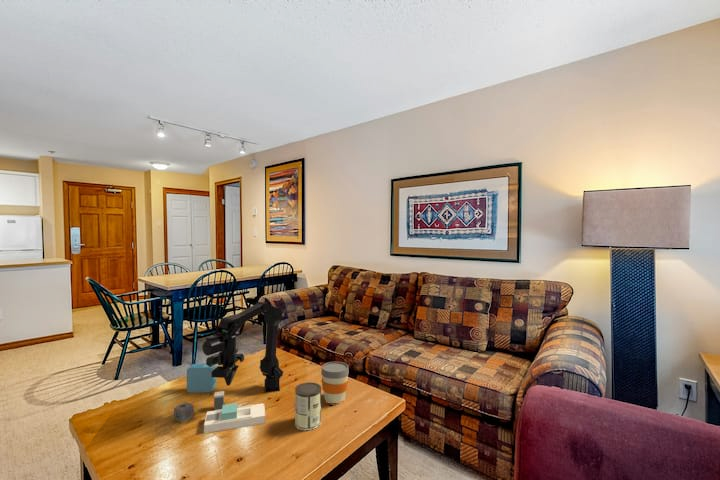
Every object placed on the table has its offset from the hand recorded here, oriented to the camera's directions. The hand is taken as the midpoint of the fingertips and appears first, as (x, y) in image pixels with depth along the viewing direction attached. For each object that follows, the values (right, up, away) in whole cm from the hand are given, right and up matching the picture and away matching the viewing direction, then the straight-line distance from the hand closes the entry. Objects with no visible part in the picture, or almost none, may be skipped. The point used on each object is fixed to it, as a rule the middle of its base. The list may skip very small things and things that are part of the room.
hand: (228, 385), depth 137 cm
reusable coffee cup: (+43, -12, +13) cm, 47 cm away
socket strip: (+5, -12, -6) cm, 14 cm away
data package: (-20, -11, +19) cm, 30 cm away
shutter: (+3, -9, -7) cm, 11 cm away
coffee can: (+34, -12, -6) cm, 37 cm away
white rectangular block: (-5, -11, +3) cm, 13 cm away
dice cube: (-16, -12, -5) cm, 20 cm away
